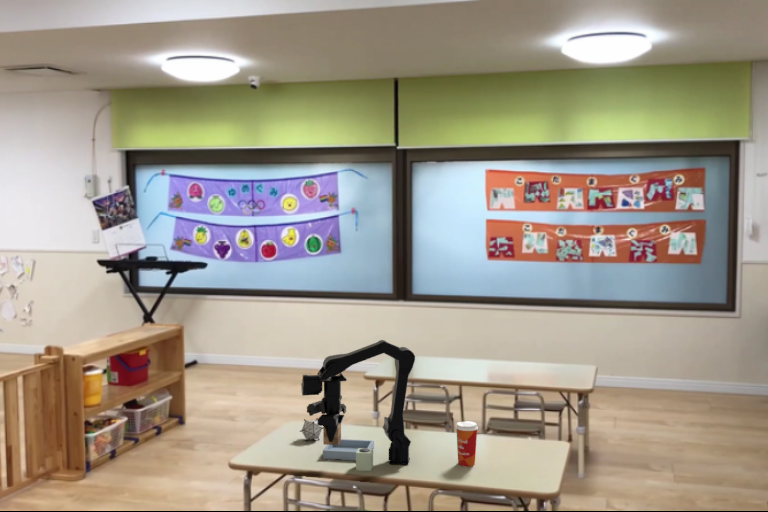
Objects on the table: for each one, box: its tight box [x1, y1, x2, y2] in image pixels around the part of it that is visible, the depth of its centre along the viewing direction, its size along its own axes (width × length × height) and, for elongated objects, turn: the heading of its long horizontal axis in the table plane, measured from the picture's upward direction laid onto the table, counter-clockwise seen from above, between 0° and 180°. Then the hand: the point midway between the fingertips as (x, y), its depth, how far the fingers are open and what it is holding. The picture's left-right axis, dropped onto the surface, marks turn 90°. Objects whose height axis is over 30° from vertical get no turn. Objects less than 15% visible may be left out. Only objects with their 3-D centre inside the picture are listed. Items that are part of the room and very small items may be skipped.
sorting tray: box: [322, 438, 375, 462], centre depth 271 cm, size 16×14×3 cm
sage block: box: [355, 448, 374, 472], centre depth 256 cm, size 5×5×6 cm
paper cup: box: [455, 420, 479, 468], centre depth 260 cm, size 8×8×14 cm
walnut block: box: [322, 422, 342, 446], centre depth 257 cm, size 5×5×6 cm
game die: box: [299, 417, 324, 442], centre depth 287 cm, size 9×8×10 cm
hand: (332, 439), depth 257 cm, fingers closed on walnut block, 5 cm apart
